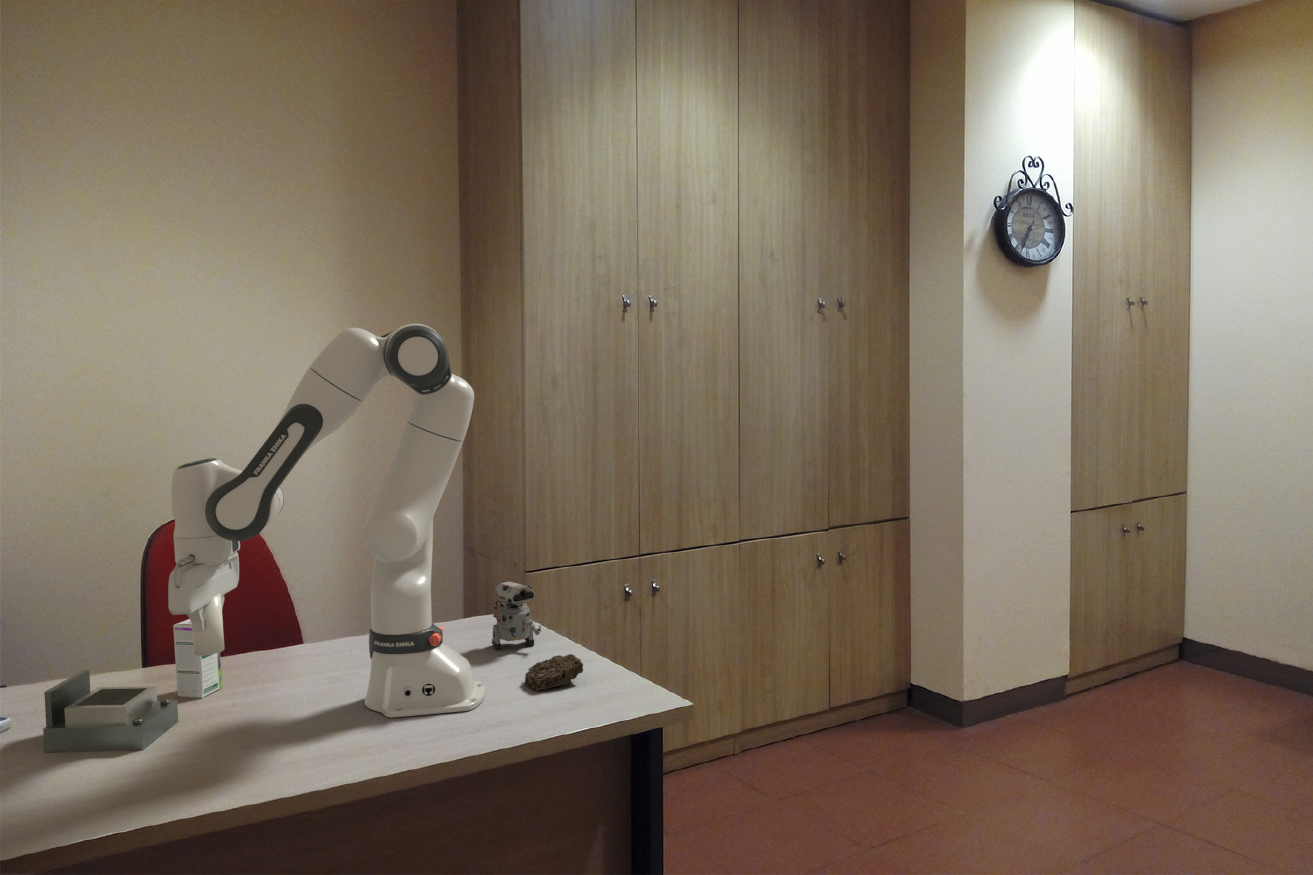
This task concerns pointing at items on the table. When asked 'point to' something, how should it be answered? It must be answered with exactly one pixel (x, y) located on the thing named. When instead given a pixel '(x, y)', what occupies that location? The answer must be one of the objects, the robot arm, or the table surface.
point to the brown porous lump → (553, 672)
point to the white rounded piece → (210, 630)
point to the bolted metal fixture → (104, 716)
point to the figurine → (513, 614)
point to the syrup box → (194, 665)
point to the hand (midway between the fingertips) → (207, 625)
